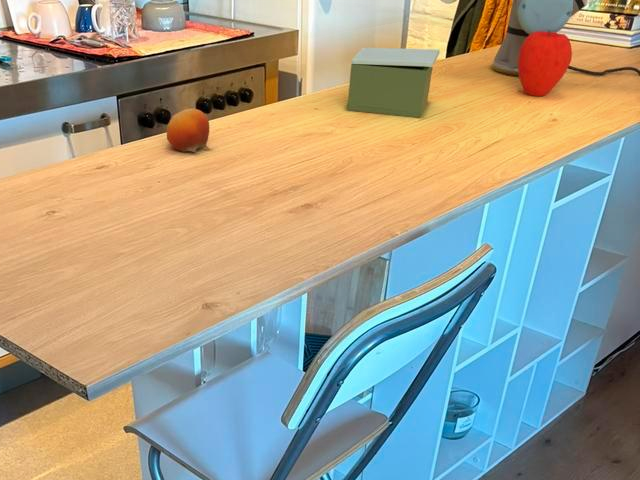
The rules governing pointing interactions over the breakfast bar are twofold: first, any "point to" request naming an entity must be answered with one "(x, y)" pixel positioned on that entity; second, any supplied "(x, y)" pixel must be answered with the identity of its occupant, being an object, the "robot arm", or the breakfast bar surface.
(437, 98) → the breakfast bar surface
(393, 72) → the green storage bin
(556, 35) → the apple
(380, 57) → the pale blue box lid
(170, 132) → the fruit
